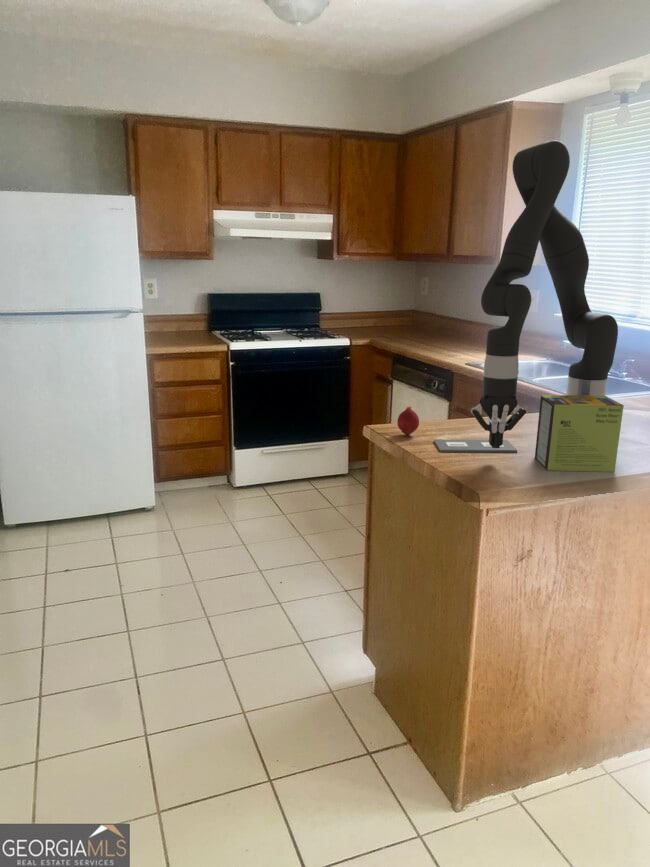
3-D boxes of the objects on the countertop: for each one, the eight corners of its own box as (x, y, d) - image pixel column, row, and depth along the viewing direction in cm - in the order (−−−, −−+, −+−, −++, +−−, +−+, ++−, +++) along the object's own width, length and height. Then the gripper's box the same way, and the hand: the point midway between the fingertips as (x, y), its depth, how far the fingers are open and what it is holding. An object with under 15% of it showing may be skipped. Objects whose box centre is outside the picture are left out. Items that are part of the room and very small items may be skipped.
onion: (417, 438, 169) (419, 409, 166) (395, 437, 170) (397, 408, 167) (419, 433, 174) (420, 404, 172) (397, 431, 175) (399, 403, 173)
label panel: (506, 442, 166) (507, 439, 166) (517, 452, 158) (517, 449, 157) (433, 441, 166) (433, 439, 166) (440, 451, 157) (440, 449, 157)
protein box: (615, 472, 144) (625, 405, 140) (546, 471, 144) (554, 404, 140) (597, 458, 154) (606, 395, 150) (533, 457, 154) (539, 394, 150)
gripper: (524, 371, 149) (518, 442, 153) (467, 371, 148) (463, 443, 153) (535, 377, 141) (528, 452, 146) (475, 377, 141) (470, 452, 146)
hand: (495, 447), depth 150 cm, fingers closed
